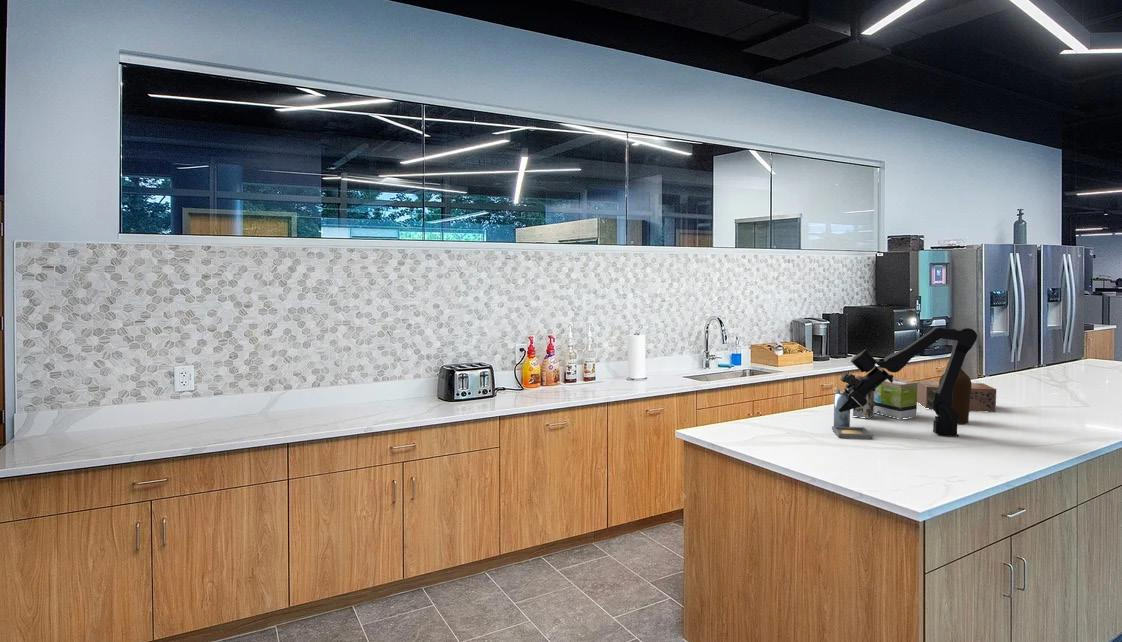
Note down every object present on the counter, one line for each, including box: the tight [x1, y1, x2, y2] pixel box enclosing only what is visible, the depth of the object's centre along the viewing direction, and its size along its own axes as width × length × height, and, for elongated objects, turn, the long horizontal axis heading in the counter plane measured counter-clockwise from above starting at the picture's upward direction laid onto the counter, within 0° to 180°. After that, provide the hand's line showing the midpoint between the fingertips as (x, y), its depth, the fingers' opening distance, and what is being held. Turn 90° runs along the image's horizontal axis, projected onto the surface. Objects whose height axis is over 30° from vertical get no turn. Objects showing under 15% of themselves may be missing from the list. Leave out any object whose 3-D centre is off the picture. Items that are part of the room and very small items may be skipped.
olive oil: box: [938, 368, 972, 425], centre depth 240 cm, size 11×11×25 cm
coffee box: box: [852, 375, 874, 419], centre depth 251 cm, size 9×6×16 cm
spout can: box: [833, 386, 851, 427], centre depth 232 cm, size 6×6×16 cm
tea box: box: [874, 378, 918, 419], centre depth 252 cm, size 15×10×15 cm, turn 25°
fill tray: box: [831, 425, 873, 440], centre depth 223 cm, size 11×11×2 cm
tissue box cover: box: [916, 381, 997, 413], centre depth 266 cm, size 26×14×10 cm, turn 74°
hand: (838, 408), depth 233 cm, fingers open, 9 cm apart
